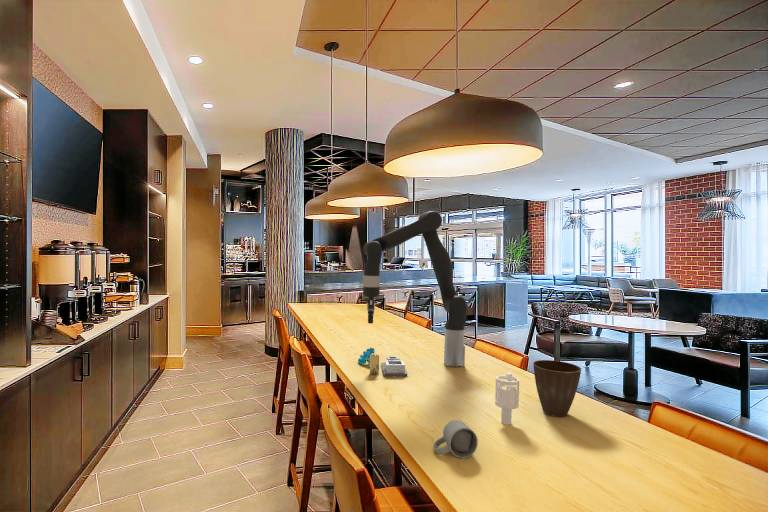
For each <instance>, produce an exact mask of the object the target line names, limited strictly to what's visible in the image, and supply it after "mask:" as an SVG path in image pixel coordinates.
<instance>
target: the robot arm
mask: <svg viewBox="0 0 768 512" xmlns="http://www.w3.org/2000/svg"><path fill="white" fill-rule="evenodd" d="M442 223H443V218H442V215H441V214H440V213H439V212H437V211H434V210H431V211H430V210H429V211H426V212H423V213H421V214H420V215H419V216H418V219H417V220H416V221H413V222H412V223H410V224H408V225H405V226H401V227H399V228H396V229H393V230H392V231H390V232H387V233H385V234H383V235H382V236H380V237H377V238H374V239H372V240H369V241H367V242H366V243H365V244H364V245H363V248H362V251H363V254H364V255H366V262H365V263H364V266H363V268H364V269H363V278H362V279H363V281H362V296H363V297H367V300H366V311H367V323H368V324H374V314H375V312H374V311H375V308H376V307H375V306H376V299H375V298H379V297H380V291H381V290H380V288H381V286H380V285H381V284H380V283H381V279H380V278H381V277H380V272H381V271H380V270H381V267H380V265H381V262H382V258H383V257H382V256H383V252H385V251H386V250H392V249H393V248H396V247H398V246H400V245H402V244H403V243H406V242H408V241H409V240H411V239H413V238H415V237H417V236H419V235H422V237H423V239H424V240H423V241H424V242H425V245H426V250H427V252H428V255H429V259H430V263H431V267H432V268H433V273H434V275H435V279H436V281H437V284H438V287H439V292H440V296H441V301H442V307H443V309H444V310H445V312H446V313H448V319H447V321H446V322H445V323H444V344H443V345H444V347H443V348H444V349H443V350H444V353H443V365H444V364H445V365H444V366H446V365H448V366H447V367H450V366H454V367H453V368H458V367H457V366H461V367H465V365H466V364H465V361H466V357H465V356H466V346H465V325H467V317H468V316H467V315H468V303H467V300H466V299H465V298H464V297H463V296H461V295H458V294H457V292H456V289H455V286H454V267H453V263H452V260H451V259H452V258H451V256H450V254H449V252H448V251H447V249H446V247H445V246H444V244H443V243H442V241H441V239H440V237H439V235H438V231H437V230H438V229H440V227H441V226H442ZM455 366H456V367H455Z"/></svg>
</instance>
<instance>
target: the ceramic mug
mask: <svg viewBox="0 0 768 512" xmlns="http://www.w3.org/2000/svg"><path fill="white" fill-rule="evenodd" d="M478 441H479V440H478V437H477V434H476V432H475V431H474V430H473V429H472V428H471V427H470V426H468V425H467V424H466V423H465V422H464V421H462V420H458V419H452V420H450V421H448V422H447V423H446V424H445V426H444V427H443V431H442V437H440V438H438V439H437V440H436V441H434V443H433V445H432V446H433V450H434V452H435V454H437V455H444V454H447V453H449V452H451V454H453V456H454V457H456V458H458V459H467V458H469V457H471V456H473V455H474V453H476V451H477V448H478V443H479V442H478ZM444 443H445V444H446V446H444V447H440V446H441V445H442V444H444ZM438 447H439V448H438Z"/></svg>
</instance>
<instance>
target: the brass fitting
mask: <svg viewBox="0 0 768 512" xmlns="http://www.w3.org/2000/svg"><path fill="white" fill-rule="evenodd" d="M377 374H378V375H379V374H380V354H376V353H374V354H373V353H372V355H370V364H369V375H370V376H378V375H377Z"/></svg>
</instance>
